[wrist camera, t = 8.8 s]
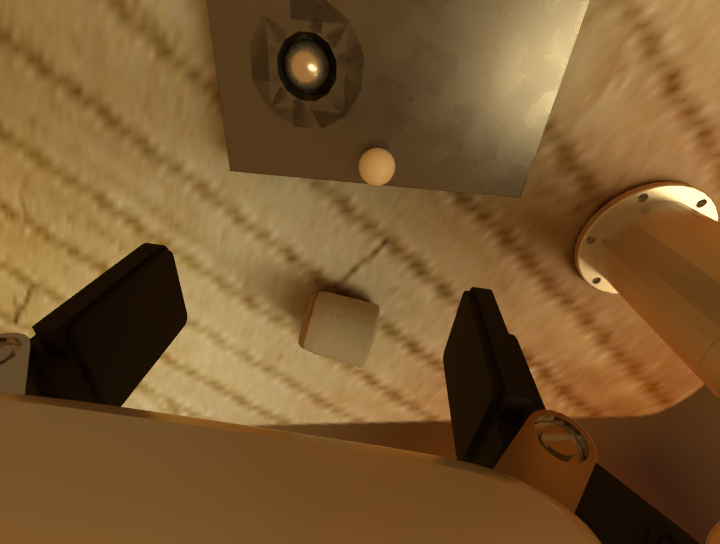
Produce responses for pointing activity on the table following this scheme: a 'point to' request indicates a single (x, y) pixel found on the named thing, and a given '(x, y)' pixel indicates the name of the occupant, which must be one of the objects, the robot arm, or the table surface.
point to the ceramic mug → (339, 328)
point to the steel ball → (306, 65)
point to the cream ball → (376, 166)
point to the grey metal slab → (395, 87)
